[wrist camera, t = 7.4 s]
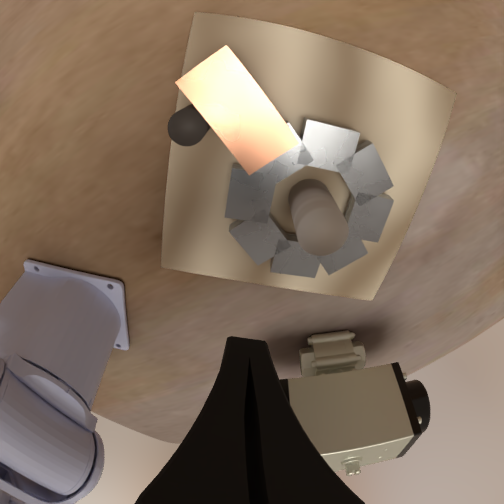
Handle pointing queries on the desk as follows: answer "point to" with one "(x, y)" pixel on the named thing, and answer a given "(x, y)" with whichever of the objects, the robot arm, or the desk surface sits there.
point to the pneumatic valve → (355, 404)
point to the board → (307, 178)
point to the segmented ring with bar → (284, 167)
